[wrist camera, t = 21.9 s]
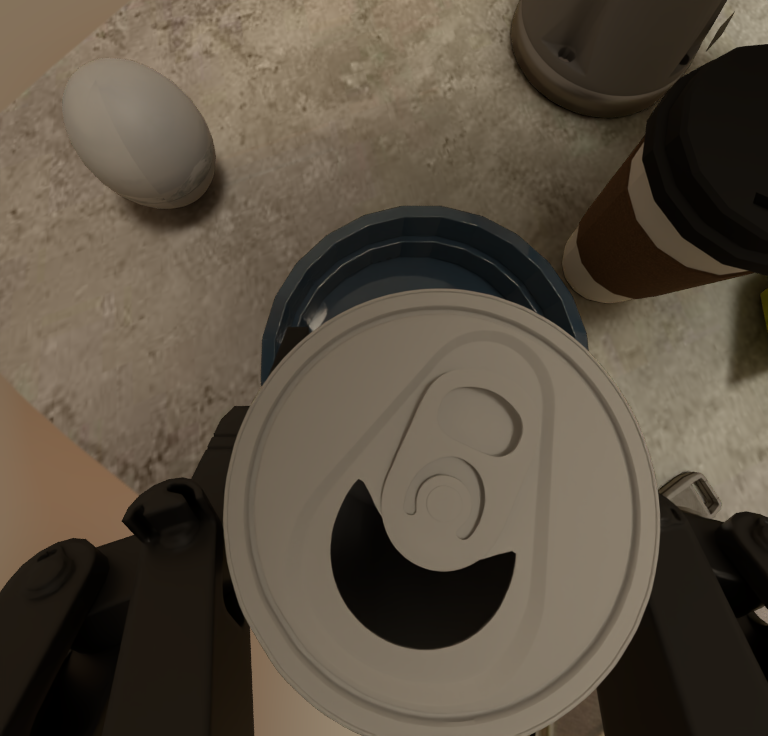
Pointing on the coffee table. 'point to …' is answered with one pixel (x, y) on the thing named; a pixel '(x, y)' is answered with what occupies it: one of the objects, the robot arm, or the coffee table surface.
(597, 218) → the coffee cup
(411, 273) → the bowl
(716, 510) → the strap clip
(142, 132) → the bath bomb
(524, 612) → the beverage can
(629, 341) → the coffee table surface
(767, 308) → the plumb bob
